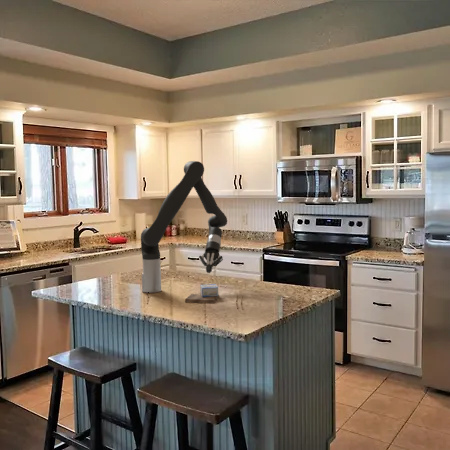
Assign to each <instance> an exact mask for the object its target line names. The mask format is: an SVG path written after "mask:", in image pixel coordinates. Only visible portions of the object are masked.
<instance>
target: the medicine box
mask: <svg viewBox="0 0 450 450" xmlns="http://www.w3.org/2000/svg"><path fill="white" fill-rule="evenodd" d="M199 292H200V294H201V295H202V297H211V296H218V295H219V287H218V285H217V284H216V283H212V284H209V283H208V284H200V291H199Z"/></svg>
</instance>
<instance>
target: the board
mask: <svg viewBox="0 0 450 450" xmlns="http://www.w3.org/2000/svg"><path fill="white" fill-rule="evenodd" d="M219 298H220V294H218V296H211V297H202V295H201V293H191V294H189V295H188V296H187V297H186V298H185V300H184V302H185V303H189V304H190V303H198V304H199V303H200V304H215V303H216V302H217V301H218V300H219Z"/></svg>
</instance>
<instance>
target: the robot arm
mask: <svg viewBox="0 0 450 450" xmlns="http://www.w3.org/2000/svg"><path fill="white" fill-rule="evenodd" d="M204 172H205V167H204V164H203V163H202V162H200V161H195V160H193V161H188V162H186V163H184V167H183V173H184V174H183V177H182V179H181V180H180V182H178V183H177V184H176V186H175V187H173V188H172V189H171V190H170V192H169V193H168V194H167V195H166V197H165V198H164V200H163V202H162V204H161V206H160V208H159V211H158V214H157V215H156V217H155V219H154V220H153V222H152V224H151V225H150V226H149V227H145V228H144V229H143V230H142V232H141V234H140V247H141V250H140V251H141V256H142V258H141V259H142V273H141V290H142V293H148V292H149V293H151V294H152V293H153V294H155V293H158V292H162V271H161V270H162V269H161V252H160V246H159V243H160V242H161V240H162V238H163V236H164V235H165V232H166V230H167V228H168V227H169V225H170V224H171V222H172V221H173V219H174V218H175V217H176V215H177V214H178V212H179V211H180V209H181V208H182V206H183V204H184V202H185V201H186V199H188V198H187V197H189V194H190V193H191V191H192V189H194V190H195V192H196V194H197V195H198V198H199V199H200V202H201V204H202V207H203V208H204V211H205V212H206V213H207V214H211V215H212V216H210V217H209V218H208V220H207V225H208V236H207V239H206V243H205V248H204V252H203V255H199V256H198V258H199V260H200V262H201V263H202V265H203V266H204V267H205V271H206V273H207V274H211V273H212V271H213V267H217V266H218V265H219V264H220V263H221V262H223V260H224V259H223V258H224V256H222V255H220V252H221V246H222V236H223V231H222V229H221V228H223V227H225V226H227V224H228V218H227V216H226V214H225V213H224V212H223V211H222V209H221V208H220V207H219V206H218V204H217V201H216V200H215V198H214V195H213V194H212V193H211V191H210V189H209V188H208V187H207V185H206V184H205V181H204V180H203V178H202V177H203V175H204V174H205V173H204ZM205 260H206V261H205Z"/></svg>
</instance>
